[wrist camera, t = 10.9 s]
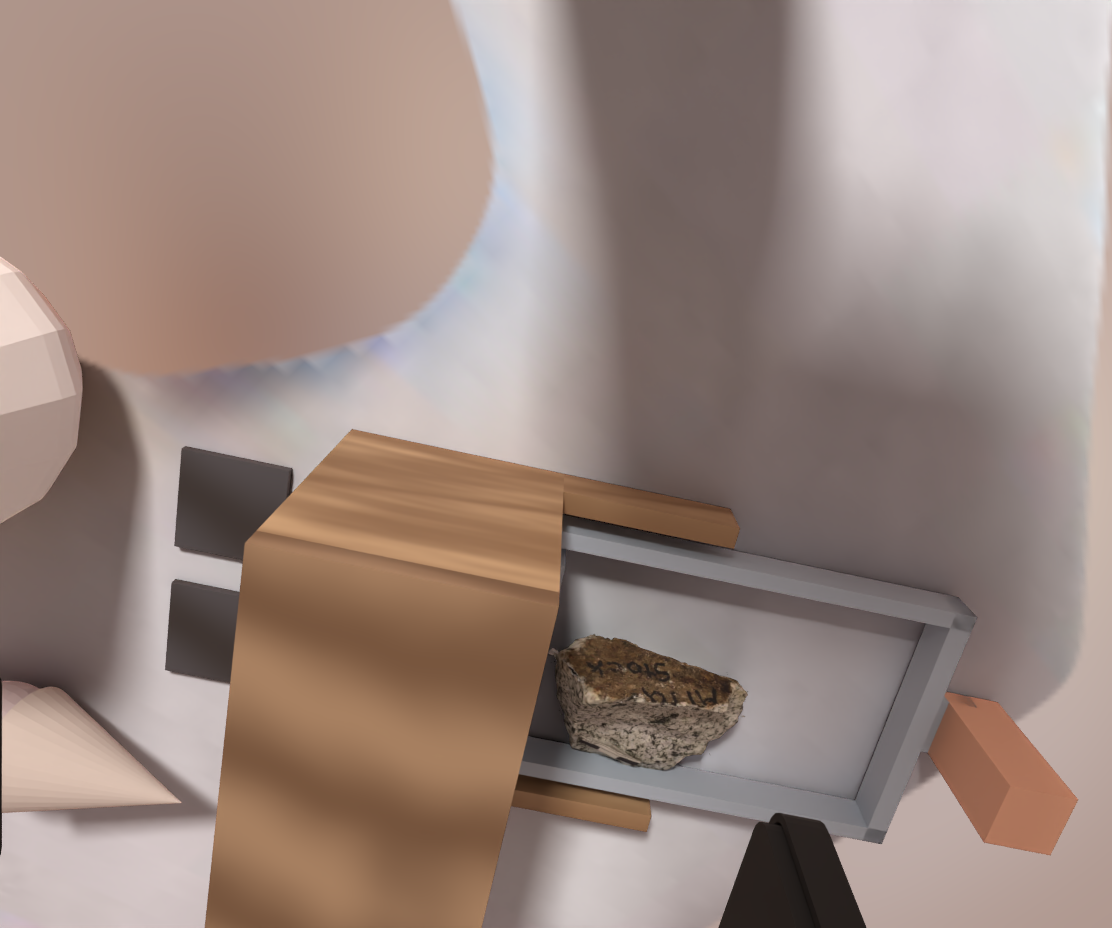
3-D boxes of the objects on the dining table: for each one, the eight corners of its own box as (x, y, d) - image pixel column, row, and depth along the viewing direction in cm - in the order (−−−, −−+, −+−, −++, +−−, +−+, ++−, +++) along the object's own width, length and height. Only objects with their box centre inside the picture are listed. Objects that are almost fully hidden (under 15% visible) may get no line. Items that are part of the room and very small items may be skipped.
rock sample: (518, 821, 40) (602, 812, 33) (500, 662, 43) (574, 622, 36) (694, 792, 45) (801, 779, 38) (667, 650, 48) (762, 613, 40)
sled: (550, 512, 39) (545, 578, 32) (1037, 613, 40) (1129, 698, 33) (498, 743, 43) (483, 844, 36) (940, 830, 44) (1005, 943, 37)
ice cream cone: (231, 756, 44) (-20, 671, 45) (195, 723, 39) (-85, 629, 40) (169, 878, 40) (-99, 783, 42) (121, 861, 35) (-181, 753, 37)
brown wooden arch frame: (189, 394, 38) (2, 493, 25) (730, 508, 39) (802, 656, 27) (165, 706, 43) (0, 913, 31) (642, 798, 44) (669, 1034, 32)
